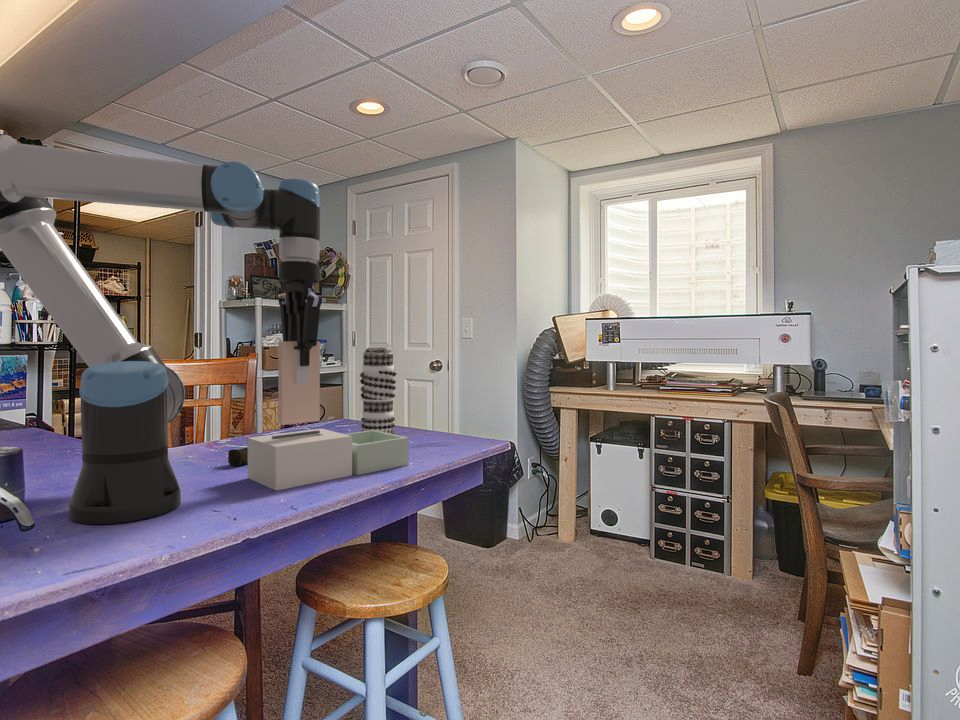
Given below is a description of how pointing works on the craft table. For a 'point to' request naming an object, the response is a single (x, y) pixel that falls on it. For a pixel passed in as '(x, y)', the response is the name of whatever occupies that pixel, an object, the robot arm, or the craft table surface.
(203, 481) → the craft table surface
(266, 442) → the dispenser
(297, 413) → the ticket
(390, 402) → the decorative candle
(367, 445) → the bin
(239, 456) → the hand tool
